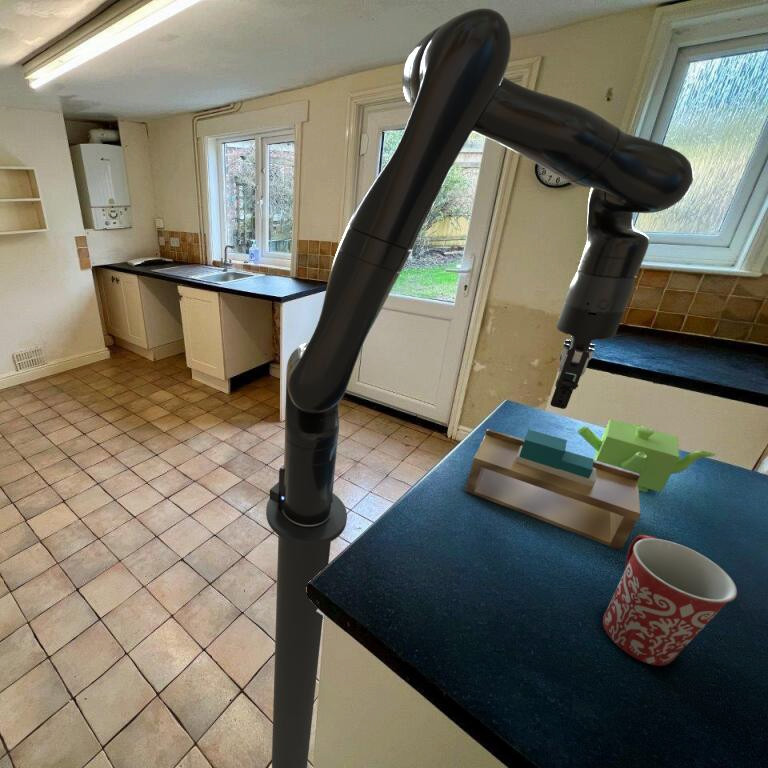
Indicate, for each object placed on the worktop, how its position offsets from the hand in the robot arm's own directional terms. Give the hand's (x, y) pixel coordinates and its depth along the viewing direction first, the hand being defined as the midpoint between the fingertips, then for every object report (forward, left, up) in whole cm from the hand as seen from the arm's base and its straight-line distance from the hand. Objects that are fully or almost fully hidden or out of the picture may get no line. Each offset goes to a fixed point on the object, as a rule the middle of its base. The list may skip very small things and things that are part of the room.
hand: (560, 397), depth 70 cm
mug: (+16, -21, -22) cm, 34 cm away
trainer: (+3, 0, -14) cm, 14 cm away
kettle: (+16, +19, -22) cm, 33 cm away
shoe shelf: (+3, 0, -22) cm, 22 cm away
